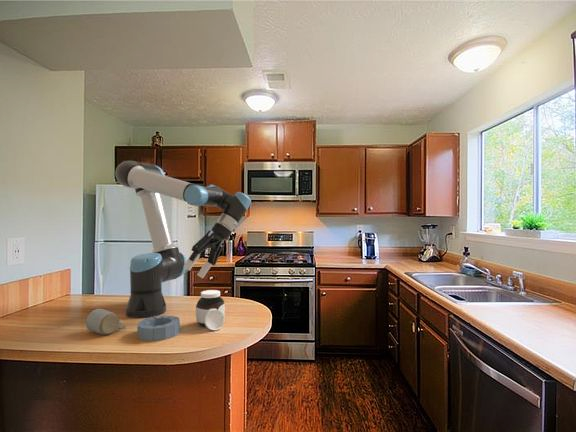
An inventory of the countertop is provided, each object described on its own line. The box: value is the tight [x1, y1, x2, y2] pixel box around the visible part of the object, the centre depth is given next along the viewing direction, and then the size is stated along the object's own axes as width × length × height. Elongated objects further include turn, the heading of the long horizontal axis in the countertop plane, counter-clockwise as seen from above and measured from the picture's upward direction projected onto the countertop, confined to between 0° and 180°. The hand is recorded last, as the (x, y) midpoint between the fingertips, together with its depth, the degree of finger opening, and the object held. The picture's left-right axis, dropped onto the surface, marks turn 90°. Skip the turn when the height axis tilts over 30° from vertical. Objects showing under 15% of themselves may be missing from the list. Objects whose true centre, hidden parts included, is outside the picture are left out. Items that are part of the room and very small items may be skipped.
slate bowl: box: [136, 315, 181, 342], centre depth 111 cm, size 13×13×4 cm
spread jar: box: [195, 289, 226, 331], centre depth 119 cm, size 12×11×12 cm
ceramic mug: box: [85, 308, 125, 336], centre depth 114 cm, size 11×8×8 cm
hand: (193, 273), depth 128 cm, fingers open, 13 cm apart
